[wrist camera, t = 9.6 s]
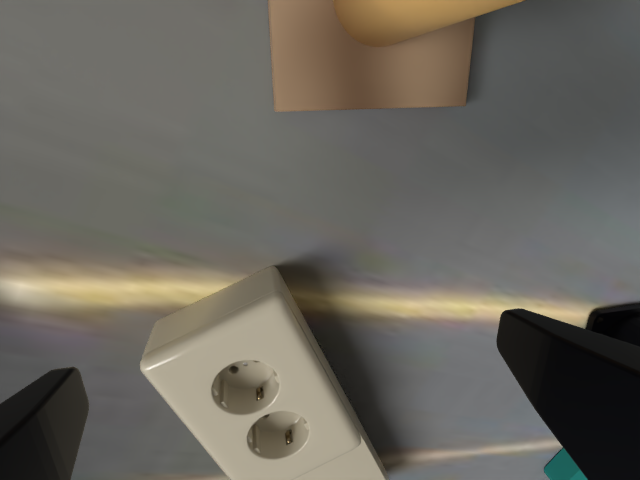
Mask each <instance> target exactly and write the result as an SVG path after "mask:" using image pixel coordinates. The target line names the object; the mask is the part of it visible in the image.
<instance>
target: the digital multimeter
mask: <svg viewBox="0 0 640 480" xmlns="http://www.w3.org/2000/svg"><path fill="white" fill-rule="evenodd" d="M544 472H545V474H546V475H547V476H548V477H549V479H550V480H588V479H587V478H586V477H585V475H584V474H583V473H582V472H581V470H580V469H579V468H578V466H577V465H576V464H575V462H574V461H573V460H572V458H571V457H570V456H569V454H568V453H567V452H566V450H565V449H564V448H562V449H561V450H560V452H559V453H558V454H557V455H556V456H555V457H554V458H553V459H552V460H551V461H550V462H549V463H548V464H547V465H546V466H545V468H544Z"/></svg>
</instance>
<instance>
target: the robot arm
mask: <svg viewBox="0 0 640 480" xmlns="http://www.w3.org/2000/svg"><path fill="white" fill-rule="evenodd" d="M497 348H498V350H499V352H500V354H501V356H502V357H503V359H504V360H505V362H506V364H507V365H508V367H509V369H510V370H511V372H512V373H513V375H514V377H515V378H516V380H517V381H518V383H519V385H520V386H521V388H522V390H523V391H524V393H525V394H526V396H527V398H528V399H529V401H530V402H531V404H532V405H533V407H534V408H535V410H536V411H537V413H538V414H539V415H540V417H541V418H542V420H543V421H544V422H545V424H546V425H547V426H548V428H549V429H550V430H551V432H552V433H553V434H554V436H555V437H556V438H557V440H558V441H559V442H560V444H561V445H562V446H563V448H564V449H565V450H566V452H567V453H568V454H569V456H570V457H571V458H572V460H573V461H574V462H575V464H576V465H577V466H578V468H579V469H580V470H581V472H582V473H583V474H584V475H585V477H586V478H587V479H588V480H640V304H639V305H631V306H624V307H617V308H610V309H602V310H596V311H594V312H592V313H591V315H590V317H589V320H588V323H587V327H586V329H583V328H580V327H577V326H574V325H571V324H568V323H565V322H561V321H558V320H555V319H552V318H549V317H546V316H543V315H540V314H537V313H534V312H531V311H528V310H525V309H512V310H505V311H504V312H503V313H502V314H501V317H500V323H499V329H498V334H497ZM88 410H89V402H88V397H87V394H86V391H85V387H84V384H83V381H82V377H81V374H80V372H79V370H78V369H77V368H75V367H69V368H61V369H54V370H51V371H49V372H48V373H46V374H45V375H43V376H42V377H40V378H39V379H37V380H36V381H34V382H33V383H31V384H30V385H28V386H27V387H25V388H24V389H22V390H21V391H19V392H18V393H16V394H15V395H13V396H12V397H10V398H9V399H7V400H5V401H4V402H2V403H1V404H0V480H70V479H71V476H72V472H73V468H74V464H75V461H76V457H77V453H78V449H79V446H80V442H81V438H82V434H83V431H84V427H85V423H86V419H87V416H88Z"/></svg>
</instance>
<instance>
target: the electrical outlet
mask: <svg viewBox="0 0 640 480" xmlns="http://www.w3.org/2000/svg"><path fill="white" fill-rule="evenodd" d="M140 369H141V371H142V373H143V374H144V375H145V377H146V378H147V379H148V380H149V381H150V383H151V384H152V385H153V386H154V388H155V389H156V390H157V391H158V392H159V394H160V395H161V396H162V397H163V398H164V400H165V401H166V402H167V403H168V405H169V406H170V407H171V408H172V409H173V411H174V412H175V413H176V414H177V416H178V417H179V418H180V419H181V420H182V422H183V423H184V424H185V425H186V426H187V428H188V429H189V430H190V431H191V433H192V434H193V435H194V436H195V437H196V439H197V440H198V441H199V442H200V444H201V445H202V446H203V447H204V448H205V450H206V451H207V452H208V453H209V455H210V456H211V457H212V458H213V459H214V461H215V462H216V463H217V464H218V465H219V467H220V468H221V469H222V470H223V472H224V473H225V474H226V475H227V476H228V478H229V479H230V480H389V477H388V475H387V472H386V470H385V467H384V465H383V463H382V462H381V460H380V458H379V456H378V454H377V452H376V450H375V449H374V447H373V445H372V443H371V441H370V439H369V437H368V436H367V434H366V432H365V430H364V428H363V426H362V424H361V423H360V421H359V419H358V417H357V415H356V413H355V412H354V410H353V408H352V406H351V404H350V402H349V401H348V399H347V397H346V395H345V393H344V391H343V389H342V387H341V386H340V384H339V382H338V380H337V378H336V376H335V374H334V373H333V371H332V369H331V367H330V365H329V363H328V361H327V360H326V358H325V356H324V354H323V352H322V350H321V349H320V347H319V345H318V343H317V341H316V339H315V337H314V336H313V334H312V332H311V330H310V328H309V326H308V324H307V323H306V321H305V319H304V317H303V315H302V313H301V311H300V310H299V308H298V306H297V304H296V302H295V300H294V299H293V297H292V295H291V293H290V291H289V289H288V287H287V286H286V284H285V282H284V280H283V278H282V276H281V274H280V273H279V271H278V269H277V268H276V267H274V266H270V267H268V268H266V269H264V270H262V271H259V272H257V273H255V274H253V275H251V276H249V277H247V278H245V279H243V280H241V281H239V282H237V283H234V284H232V285H230V286H228V287H226V288H224V289H222V290H220V291H218V292H216V293H214V294H212V295H210V296H207V297H205V298H203V299H201V300H199V301H197V302H195V303H193V304H191V305H189V306H187V307H185V308H182V309H180V310H178V311H176V312H174V313H172V314H170V315H168V316H166V317H164V318H162V319H160V320H158V321H156V322H155V324H154V326H153V329H152V332H151V334H150V337H149V340H148V342H147V345H146V348H145V351H144V353H143V356H142V359H141V362H140Z"/></svg>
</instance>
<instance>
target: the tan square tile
mask: <svg viewBox="0 0 640 480" xmlns="http://www.w3.org/2000/svg"><path fill="white" fill-rule="evenodd" d="M268 12H269V29H270V45H271V62H272V79H273V96H274V111H276V112H279V111H313V110H347V109H381V108H415V107H449V106H466V97H467V88H468V79H469V70H470V60H471V51H472V42H473V33H474V23H475V17H473V18H470V19H467V20H464V21H461V22H458V23H455V24H452V25H449V26H446V27H443V28H440V29H437V30H434V31H431V32H428V33H425V34H422V35H419V36H416V37H413V38H410V39H407V40H404V41H401V42H398V43H395V44H392V45H389V46H385V47H371V46H367V45H364V44H362V43H360V42H358V41H356V40H355V39H354V38H352V37H351V36H350V35H349V34H348V33H347V32H346V31H345V29H344V28H343V27H342V25H341V23H340V21H339V19H338V17H337V15H336V12H335V8H334V3H333V0H268Z"/></svg>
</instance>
